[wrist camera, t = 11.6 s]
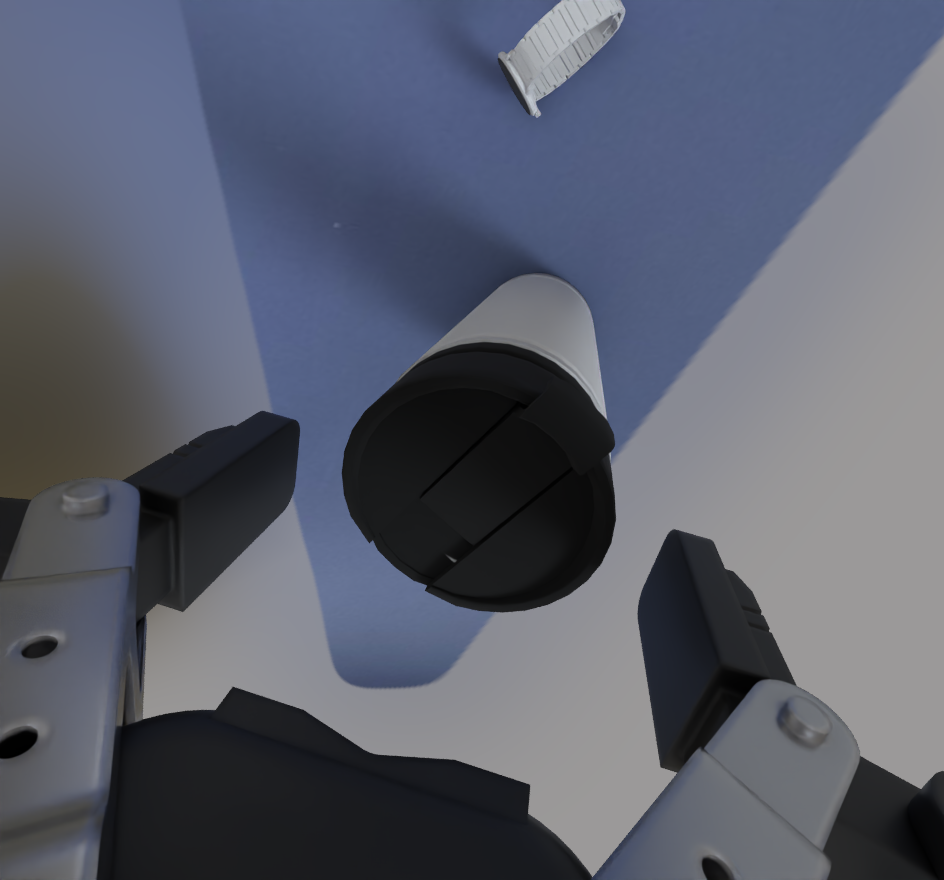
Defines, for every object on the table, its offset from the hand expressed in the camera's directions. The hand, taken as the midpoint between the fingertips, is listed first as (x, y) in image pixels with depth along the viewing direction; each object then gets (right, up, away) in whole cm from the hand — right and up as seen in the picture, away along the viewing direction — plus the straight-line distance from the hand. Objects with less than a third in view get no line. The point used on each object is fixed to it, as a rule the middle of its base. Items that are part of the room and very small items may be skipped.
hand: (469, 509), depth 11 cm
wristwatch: (+4, +19, +13) cm, 23 cm away
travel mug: (+4, +8, +18) cm, 20 cm away
